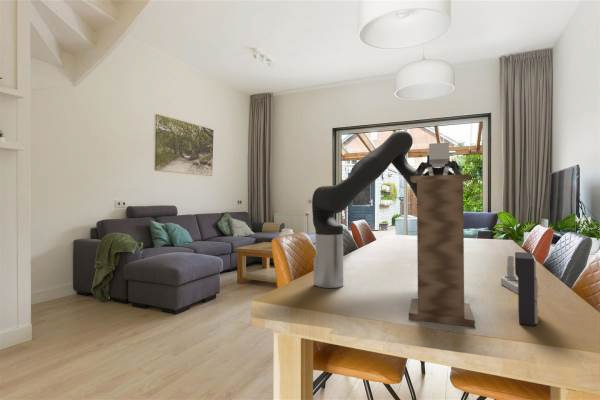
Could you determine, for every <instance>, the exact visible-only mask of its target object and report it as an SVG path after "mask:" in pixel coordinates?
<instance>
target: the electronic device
mask: <svg viewBox="0 0 600 400" xmlns="http://www.w3.org/2000/svg"><path fill="white" fill-rule="evenodd" d="M506 261H507V263H506V264H507V265H506V274H505V275H503V276H500V285H502V286H504V287H505V288H507V289H509V290H511V292H514V293H515V294H517V295H518V277H517V275H516V274H515V256H513V255H512V256H511V255H507V260H506Z"/></svg>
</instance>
